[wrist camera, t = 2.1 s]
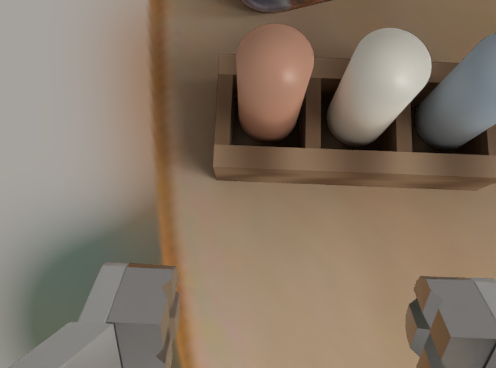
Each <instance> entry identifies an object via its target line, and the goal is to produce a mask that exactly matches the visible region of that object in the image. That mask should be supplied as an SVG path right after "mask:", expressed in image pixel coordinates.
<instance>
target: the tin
mask: <svg viewBox="0 0 496 368" xmlns="http://www.w3.org/2000/svg"><path fill="white" fill-rule="evenodd" d="M241 1H242V2H243V3H244V4H245V5H246V6H248V7H250V8H252V9H254V10H257V11H260V12H268V13H276V12H284V11H288V10H293V9H297V8H301V7H305V6H309V5H313V4H317V3H321V2H325V1H330V0H241Z"/></svg>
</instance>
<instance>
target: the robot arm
mask: <svg viewBox="0 0 496 368" xmlns="http://www.w3.org/2000/svg"><path fill="white" fill-rule="evenodd" d="M177 283H178V272H177V267H176V266H168V265H153V264H138V263H137V264H136V263H129V264H127V263H115V262H106V263H105V264H104V265H103V266H102V267H101V269H100V271H99V273H98V275H97V278H96V280H95V282H94V285H93V287H92V289H91V291H90V294H89V296H88V298H87V301H86V303H85V305H84V308H83V310H82V312H81V314H80V317H79V319H78V321H77V322H69V323H68V324H66V325H65V326H64V327H62V328H61V329H60V330H58V331H57V332H56V333H54V334H53V335H52V336H50V337H49V338H48V339H46V340H45V341H44V342H42V343H41V344H40V345H38V346H37V347H36V348H34V349H33V350H32V351H30V352H29V353H28V354H26V355H25V356H24V357H22V358H21V359H20V360H18V361H17V362H16V363H14V364H13V365H12V366H10V367H9V368H170V367H171V362H172V357H173V355H172V342H173V341H174V340H175V339H176V336H177V331H178V324H179V314H180V298H179V294H178V293H177V292H176V288H177ZM414 292H415V294H416V297H417V299H415V300H414V301H413V302H411V303H410V304H409V306H408V309H407V313H406V334H407V339H408V342H409V346H410V348H411V349H412V350H413V351H414V352H415V353H416V354H417V355H418V356H419V357H420V358H419V361H418V364H417V368H496V280H495V279H493V278H458V277H429V276H420V277H419V279H418V280H417V281H416V284H415V287H414Z"/></svg>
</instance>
